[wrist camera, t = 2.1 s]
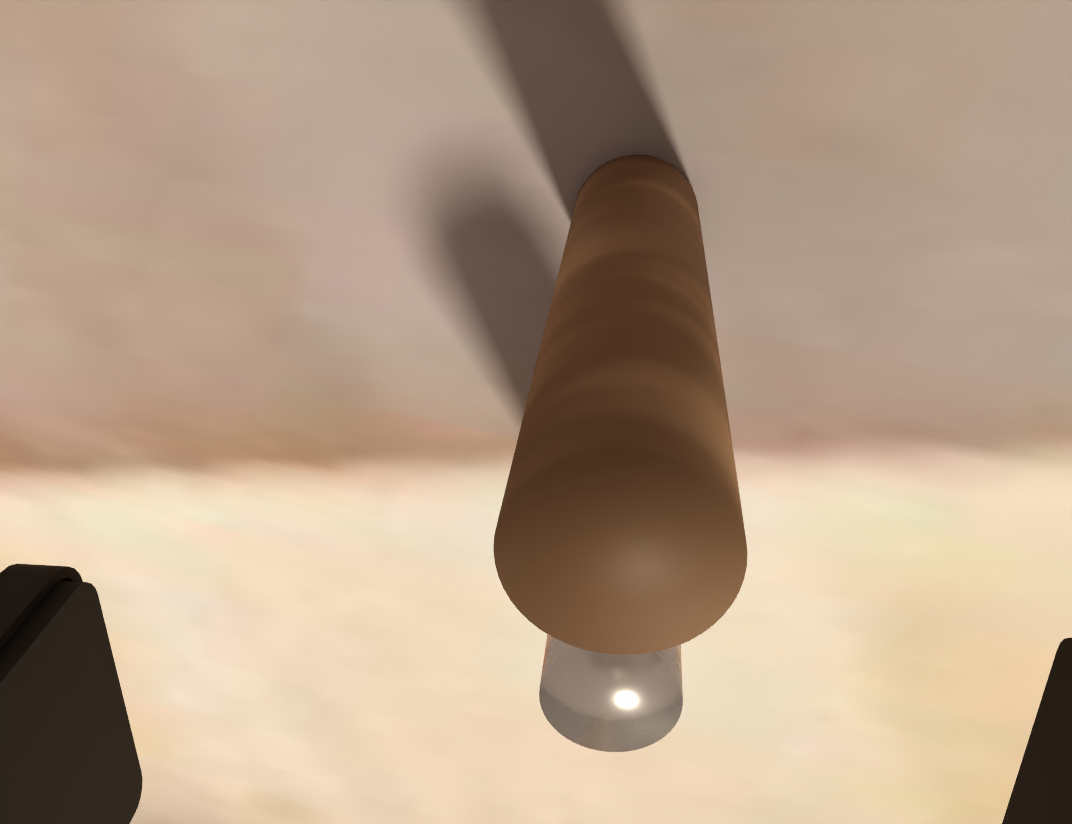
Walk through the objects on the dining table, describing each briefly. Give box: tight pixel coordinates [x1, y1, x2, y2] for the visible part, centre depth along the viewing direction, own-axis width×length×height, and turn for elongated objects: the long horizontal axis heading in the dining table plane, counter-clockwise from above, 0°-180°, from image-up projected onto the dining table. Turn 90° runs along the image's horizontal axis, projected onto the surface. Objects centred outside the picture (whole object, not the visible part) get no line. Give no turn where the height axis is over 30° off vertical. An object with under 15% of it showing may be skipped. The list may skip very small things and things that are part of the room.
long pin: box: [494, 155, 747, 655], centre depth 18 cm, size 3×3×14 cm
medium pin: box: [539, 634, 683, 752], centre depth 24 cm, size 3×3×8 cm
